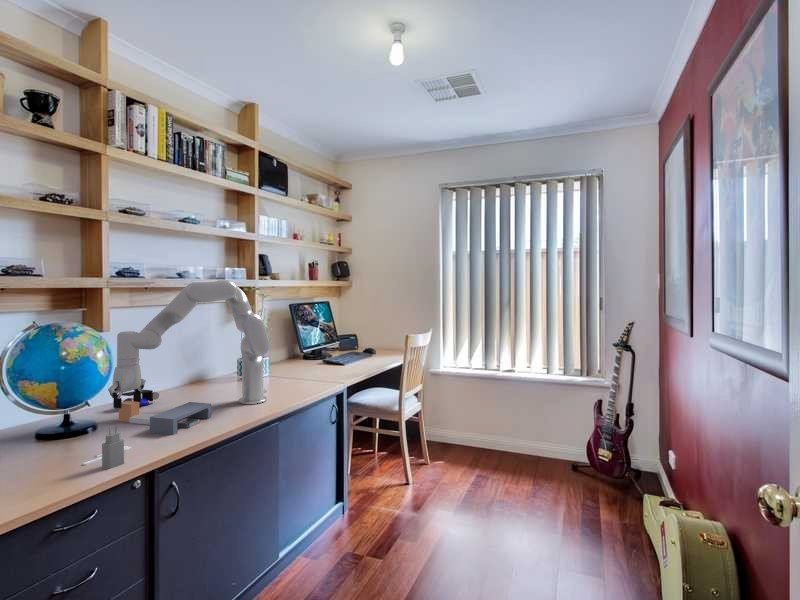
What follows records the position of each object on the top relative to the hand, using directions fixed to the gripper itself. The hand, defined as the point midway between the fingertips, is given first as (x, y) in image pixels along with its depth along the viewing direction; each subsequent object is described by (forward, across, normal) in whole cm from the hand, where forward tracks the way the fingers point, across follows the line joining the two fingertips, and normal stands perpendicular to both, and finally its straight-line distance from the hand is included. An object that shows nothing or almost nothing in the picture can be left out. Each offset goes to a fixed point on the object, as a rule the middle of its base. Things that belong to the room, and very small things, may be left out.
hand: (127, 404), depth 179 cm
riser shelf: (+6, 0, +25) cm, 26 cm away
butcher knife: (+7, +32, +23) cm, 40 cm away
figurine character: (+6, -18, -11) cm, 22 cm away
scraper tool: (+6, 0, +9) cm, 11 cm away
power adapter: (+6, +39, +32) cm, 50 cm away
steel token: (+6, 0, +27) cm, 28 cm away
